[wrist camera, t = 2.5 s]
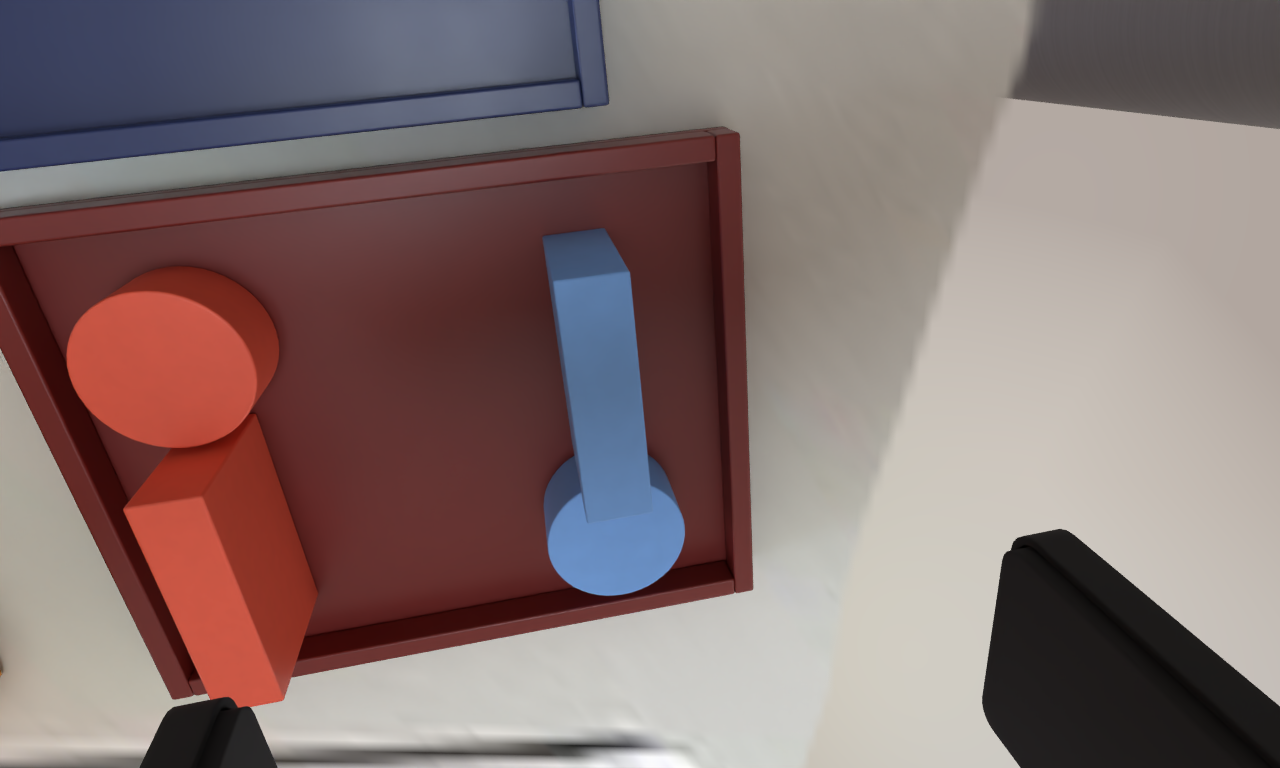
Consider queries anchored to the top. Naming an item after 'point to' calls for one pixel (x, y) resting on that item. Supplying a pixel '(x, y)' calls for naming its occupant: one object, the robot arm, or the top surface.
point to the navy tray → (278, 70)
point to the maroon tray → (418, 376)
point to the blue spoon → (604, 430)
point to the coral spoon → (203, 469)
